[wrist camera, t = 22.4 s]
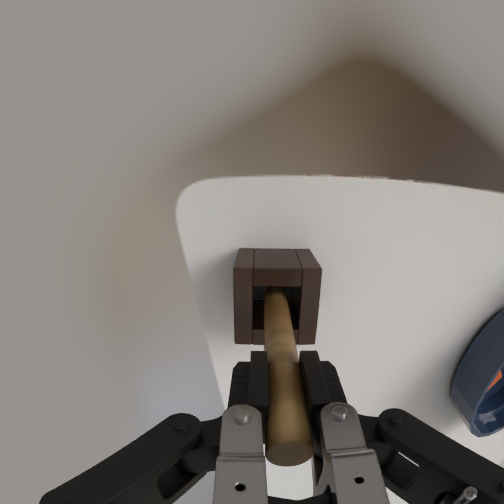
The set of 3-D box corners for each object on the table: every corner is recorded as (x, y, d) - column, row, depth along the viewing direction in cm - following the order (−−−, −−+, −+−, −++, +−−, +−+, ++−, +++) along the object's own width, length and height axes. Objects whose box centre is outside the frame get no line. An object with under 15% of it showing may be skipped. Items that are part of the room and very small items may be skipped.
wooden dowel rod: (264, 283, 21) (266, 440, 8) (286, 284, 21) (318, 439, 8) (262, 304, 22) (263, 467, 8) (284, 304, 22) (310, 466, 8)
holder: (239, 247, 23) (233, 267, 18) (309, 248, 23) (322, 268, 18) (239, 312, 24) (234, 344, 19) (305, 312, 24) (314, 344, 19)
